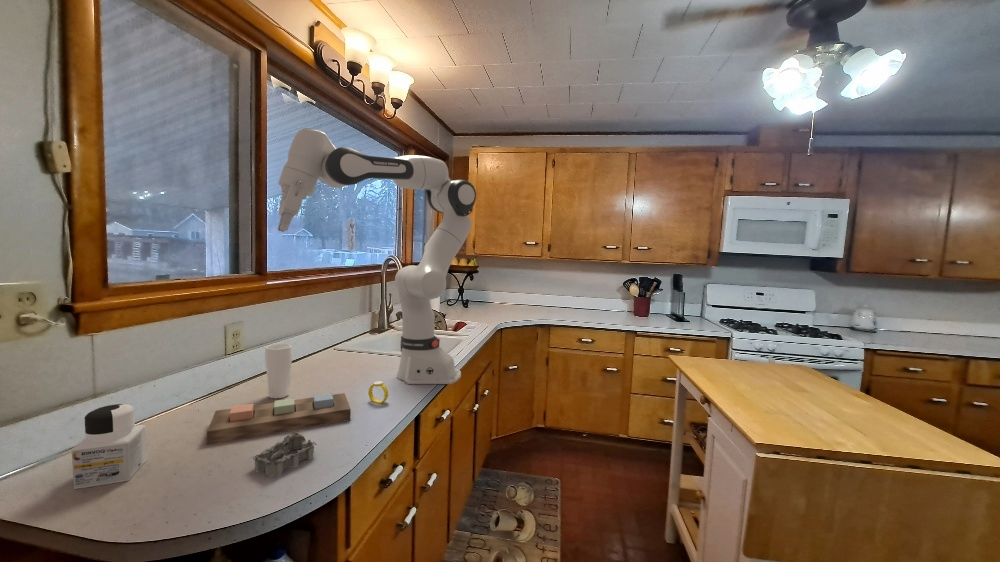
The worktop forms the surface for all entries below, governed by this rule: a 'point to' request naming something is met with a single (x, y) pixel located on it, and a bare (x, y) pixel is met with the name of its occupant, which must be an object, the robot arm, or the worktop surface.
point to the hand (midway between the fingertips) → (282, 230)
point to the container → (109, 447)
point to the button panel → (277, 419)
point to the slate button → (323, 401)
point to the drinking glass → (278, 369)
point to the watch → (380, 383)
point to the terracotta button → (242, 412)
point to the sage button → (284, 406)
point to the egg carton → (284, 454)
